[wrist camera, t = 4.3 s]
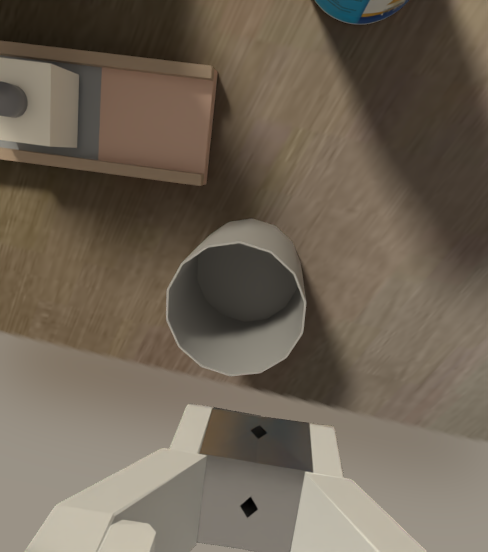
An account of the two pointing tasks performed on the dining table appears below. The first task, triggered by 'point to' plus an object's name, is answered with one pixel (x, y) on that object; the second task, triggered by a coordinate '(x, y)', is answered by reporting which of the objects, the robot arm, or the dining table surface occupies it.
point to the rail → (129, 115)
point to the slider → (38, 103)
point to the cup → (238, 299)
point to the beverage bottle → (360, 9)
